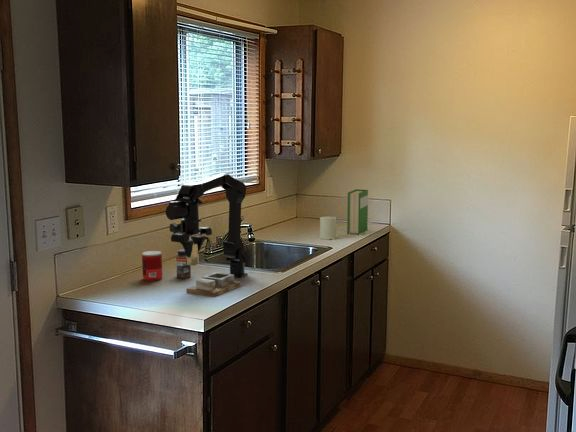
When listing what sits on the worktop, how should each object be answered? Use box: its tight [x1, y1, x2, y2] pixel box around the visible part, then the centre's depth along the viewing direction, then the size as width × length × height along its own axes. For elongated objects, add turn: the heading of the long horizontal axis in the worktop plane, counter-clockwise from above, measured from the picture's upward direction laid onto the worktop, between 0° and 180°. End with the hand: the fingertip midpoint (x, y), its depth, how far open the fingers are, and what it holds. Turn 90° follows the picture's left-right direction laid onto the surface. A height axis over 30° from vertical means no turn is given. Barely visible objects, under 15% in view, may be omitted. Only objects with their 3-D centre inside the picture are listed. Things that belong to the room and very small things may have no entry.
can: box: [319, 215, 337, 240], centre depth 349 cm, size 9×9×12 cm
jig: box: [185, 271, 242, 298], centre depth 245 cm, size 18×13×4 cm
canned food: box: [141, 250, 163, 282], centre depth 261 cm, size 8×8×11 cm
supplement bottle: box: [175, 248, 192, 279], centre depth 264 cm, size 6×6×11 cm
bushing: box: [187, 242, 199, 266], centre depth 245 cm, size 4×4×8 cm
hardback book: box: [346, 188, 369, 235], centre depth 367 cm, size 18×7×24 cm, turn 159°
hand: (192, 256), depth 245 cm, fingers closed on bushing, 4 cm apart
